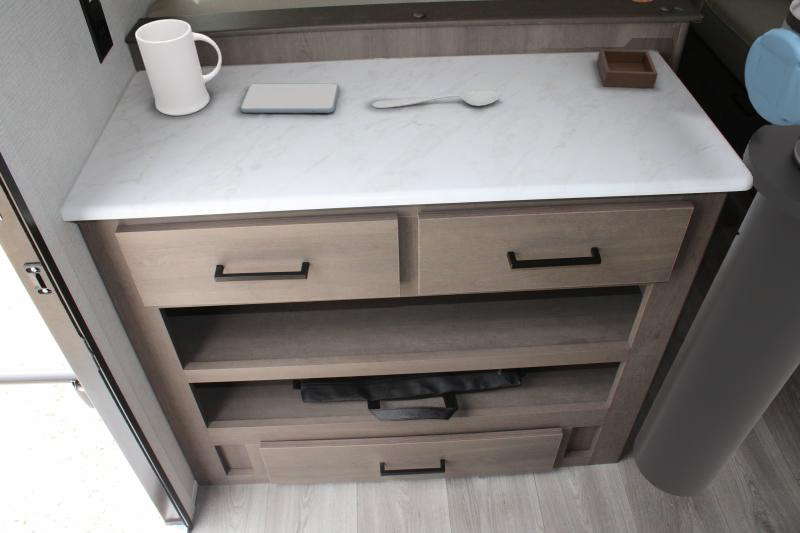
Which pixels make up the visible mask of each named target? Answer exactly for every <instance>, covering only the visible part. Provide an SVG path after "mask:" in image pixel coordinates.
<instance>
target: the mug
mask: <svg viewBox="0 0 800 533" xmlns="http://www.w3.org/2000/svg"><path fill="white" fill-rule="evenodd" d="M134 35H135V39H136V42H137V46H138V48H139V53H140V55H141V58H142V62H143V65H144V68H145V72H146V75H147V77H148V81H149V83H150V88H151V92H152V94H153V97H154V103H155V104H154V105H155V108H156V109H157V111H158V112H160V113H161V114H164V115H167V116H173V117H174V116H177V117H178V116H179V117H180V116H186V115H191V114H194V113H197V112H199V111H201V110H202V109H204V108H205V107H207V105H208V104H209V102H210V99H211V98H210V94H209V92H208V90H207V86H206V83H208V82H210V81H211V80H213V79H214V78H215V77H216V76H217V75H218V73H219V72H220V70H221V68H222V62H223V57H222V52H221V50H220V47H219V46H218V45H217V43H216V42H215V40H213V39H212V38H210V37H209V36H208V35H205V34H203V33H198V32H195V31H193V30H192V26H191V25H190V23H188V22H186V21H185V20H181V19H175V18H170V19H169V18H168V19H158V20H154V21H150V22H148V23H145V24H143V25H142V26H140V27H139V28H137V30H135V33H134ZM196 41H203V42H206V43H208V44H210V45H211V46H212V47H213V48H214V49H215V50H216V52H217V57H218V59H217V64H216V67H215V68H214V69H213V70H212V71H211V72H209V73H207V74H203V71H202V67H201V63H200V59H199V55H198V50H197V46H196V43H195V42H196Z"/></svg>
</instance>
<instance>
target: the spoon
mask: <svg viewBox="0 0 800 533" xmlns="http://www.w3.org/2000/svg"><path fill="white" fill-rule="evenodd" d="M501 97H502V93H501V92H499V91H496V90H487V91H486V90H485V91H483V90H482V91H466V92H455V93H448V94H442V95H431V96H421V97H411V98H400V99H385V100H384V99H383V100H377V101H375V102H373V103H372V107H374V108H376V109H390V108H397V107H406V106H411V105H415V104H421V103H426V102H429V101H435V100H443V99H448V98H460V99H462V100H463V101H464V102H465V103H467V104H469V105H472V106H476V107H479V106H486V105H490V104H492V103H494V102H496V101H497V100H499V99H500V98H501Z"/></svg>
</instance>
